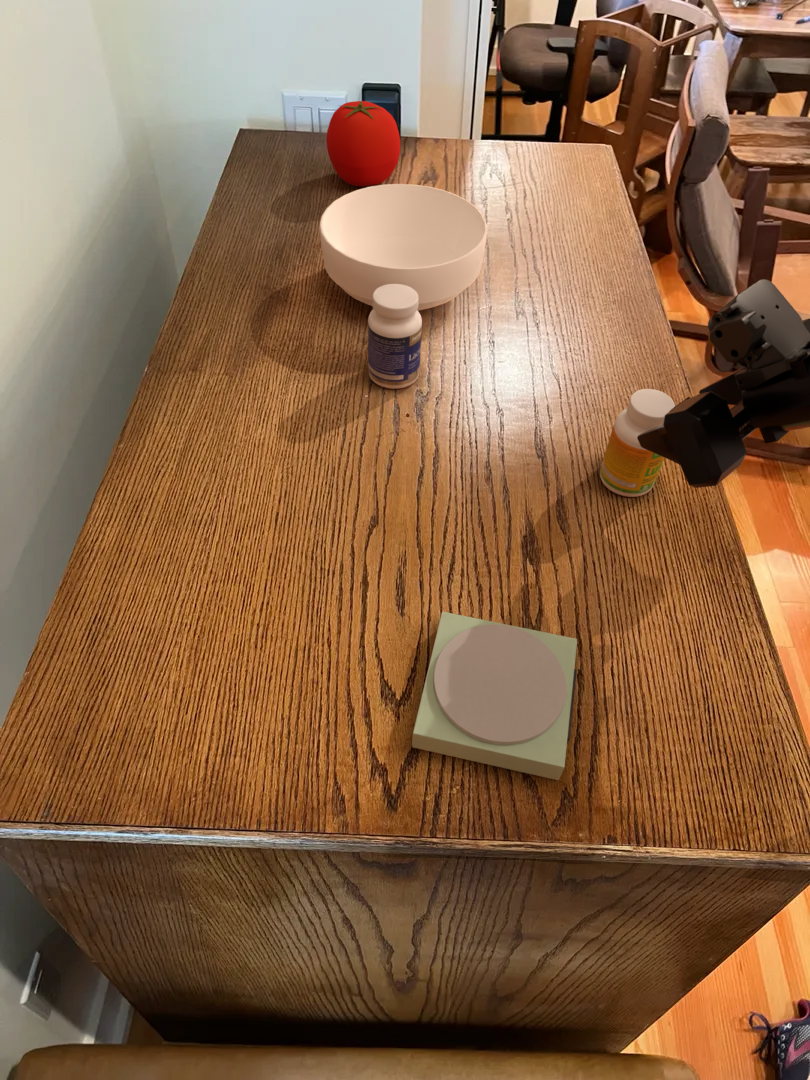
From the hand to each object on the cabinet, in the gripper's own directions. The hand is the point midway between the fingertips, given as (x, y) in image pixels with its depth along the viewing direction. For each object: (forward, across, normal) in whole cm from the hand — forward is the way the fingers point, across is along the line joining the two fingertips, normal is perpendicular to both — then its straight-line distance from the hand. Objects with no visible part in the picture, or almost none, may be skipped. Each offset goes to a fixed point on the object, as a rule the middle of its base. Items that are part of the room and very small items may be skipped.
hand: (671, 417), depth 68 cm
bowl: (+36, -5, -22) cm, 43 cm away
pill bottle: (+27, +7, -14) cm, 31 cm away
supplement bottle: (+8, 0, +5) cm, 10 cm away
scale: (+2, +27, +11) cm, 29 cm away
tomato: (+54, -20, -40) cm, 70 cm away
